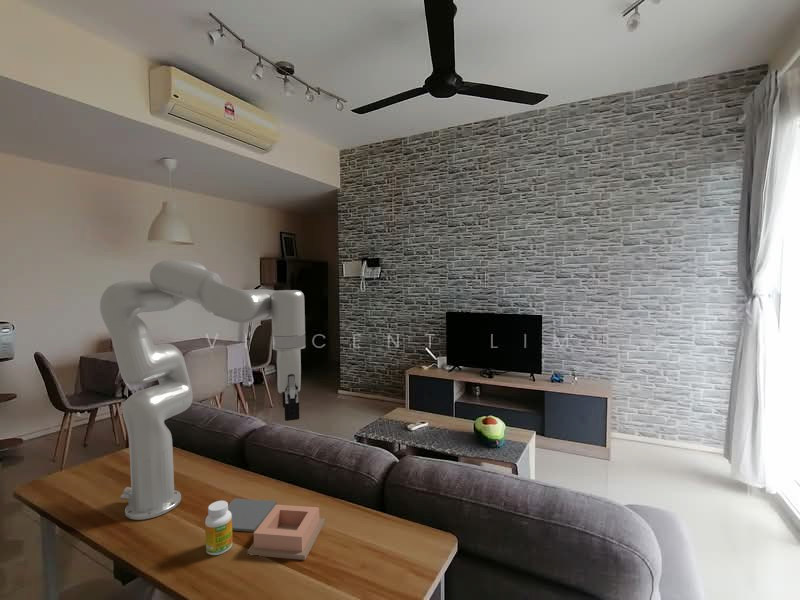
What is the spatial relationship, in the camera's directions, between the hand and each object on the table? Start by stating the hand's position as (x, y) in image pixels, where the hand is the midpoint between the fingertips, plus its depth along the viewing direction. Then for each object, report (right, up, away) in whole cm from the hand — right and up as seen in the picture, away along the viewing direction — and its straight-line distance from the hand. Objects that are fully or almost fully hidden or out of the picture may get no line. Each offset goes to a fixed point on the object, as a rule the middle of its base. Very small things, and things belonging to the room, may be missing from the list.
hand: (290, 413), depth 93 cm
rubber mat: (-14, -28, +6) cm, 31 cm away
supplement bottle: (-14, -29, -6) cm, 32 cm away
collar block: (0, -28, -3) cm, 28 cm away
